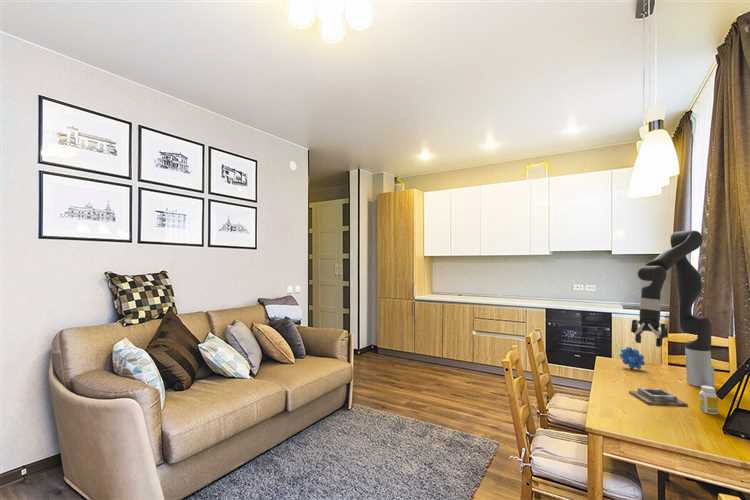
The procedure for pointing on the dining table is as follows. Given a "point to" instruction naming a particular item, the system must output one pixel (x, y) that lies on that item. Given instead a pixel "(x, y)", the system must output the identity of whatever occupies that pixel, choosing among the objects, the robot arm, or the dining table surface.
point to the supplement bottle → (708, 400)
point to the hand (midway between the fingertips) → (648, 344)
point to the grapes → (632, 358)
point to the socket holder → (657, 397)
